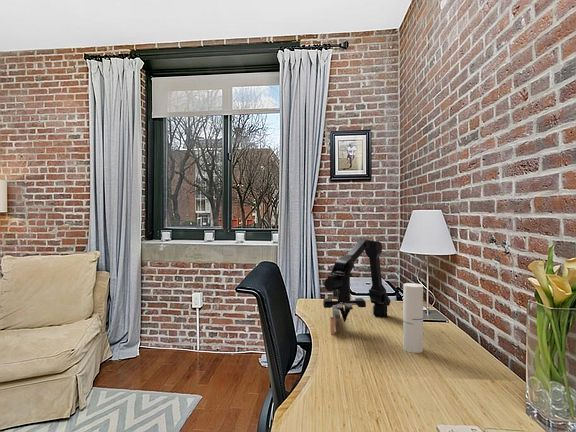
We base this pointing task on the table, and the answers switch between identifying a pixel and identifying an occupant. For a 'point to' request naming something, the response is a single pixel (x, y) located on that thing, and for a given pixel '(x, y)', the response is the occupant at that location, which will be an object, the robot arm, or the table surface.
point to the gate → (337, 319)
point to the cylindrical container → (413, 317)
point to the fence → (332, 323)
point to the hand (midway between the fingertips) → (344, 321)
